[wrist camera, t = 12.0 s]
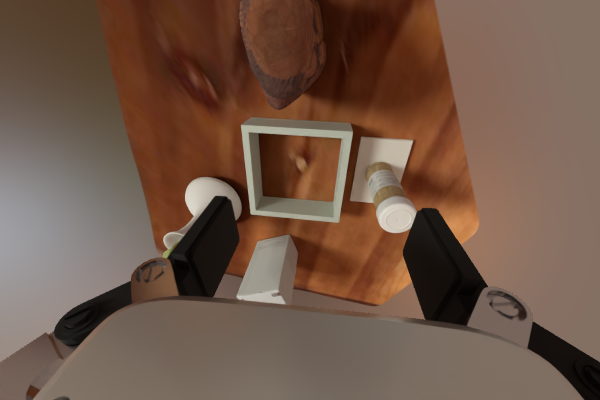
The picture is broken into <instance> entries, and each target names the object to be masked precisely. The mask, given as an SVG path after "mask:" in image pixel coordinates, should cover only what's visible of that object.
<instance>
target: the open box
mask: <svg viewBox="0 0 600 400" xmlns="http://www.w3.org/2000/svg"><path fill="white" fill-rule="evenodd" d="M241 129H242V138H243V147H244V157H245V166H246V175H247V184H248V194H249V203H250V212H251V214H252V215H263V216H273V217H284V218H294V219H305V220H316V221H326V222H337V223H339V218H340V212H341V205H342V199H343V193H344V186H345V180H346V173H347V167H348V161H349V154H350V148H351V141H352V135H353V130H352V127H351V124H350V123H340V122H323V121H306V120H289V119H272V118H255V117H251V118H250V119H248V120H247V121H246V122H244V123H243V124H242V125H241ZM258 133H268V134H284V135H299V136H315V137H331V138H342V141H341V149H340V156H339V164H338V171H337V179H336V187H335V194H334V202H325V201H313V200H302V199H290V198H279V197H267V196H263V193H262V178H261V164H260V149H259V135H258Z"/></svg>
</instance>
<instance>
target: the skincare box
mask: <svg viewBox="0 0 600 400" xmlns="http://www.w3.org/2000/svg"><path fill="white" fill-rule="evenodd" d="M297 257H298V251H297V249H296V247H295V245H294V242H293V240H292V238H291V236H290V234H289V235H284V236H280V237H275V238H270V239H266V240H262V241H258V243H257V245H256V248H255V250H254V253H253V256H252V258H251V261H250V263H249V266H248V268H247V271H246V274H245V276H244V279H243V281H242V284H241V286H240V289H239V292H238V294H237V298H238V299H239V300H246V301H256V302H266V303H276V304H286V305H291V299H292V293H293V285H294V278H295V271H296V265H297Z"/></svg>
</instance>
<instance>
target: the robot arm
mask: <svg viewBox="0 0 600 400" xmlns="http://www.w3.org/2000/svg"><path fill="white" fill-rule="evenodd" d="M238 243H239V233H238V228H237V224H236V219H235V215H234V210H233V206H232V201H231V200H230V199H228V197H227V196H215V197H214V198H213V199H212V200H211V202H210V203H209V204H208V206H207V207H206V208H205V209H204V211H203V212H202V213H201V215H200V216H199V217H198V219H197V220H196V221H195V222H194V223H193V225H192V226H191V227H190V229H189V230H188V231H187V233H186V234H185V235H184V236H183V238H182V239H181V240H180V242H179V243H178V244H177V245H176V247H175V248H174V249H173V251H172V252H171V253H170V255H169V256H168V257H167V258H163V257H158V258H153V259H150V260H148V261H146V262H144V263H142V264H141V265H140V266H138V267H137V268H136V269H135V270H134V272H133V274H132V276H131V281H130V282H127V283H125V284H123V285H121V286H119V287H117V288H114V289H112V290H110V291H108V292H106V293H104V294H101V295H99V296H97V297H95V298H93V299H91V300H89V301H87V302H84V303H82V304H80V305H78V306H76V307H75V308H73V309H72V310H70V311H69V312H68V313H67V314H65V315H64V316H63V317H62V318H61V319H60V321H59V322H58V323H57V325H56V327H55V330H54V332H52V333H51V334H47V333H44V334H43V335H41V336H40V337H38V338H37V339H35V340H34V341H32V342H31V343H29V344H27V345H26V346H24V347H23V348H21V349H20V350H18V351H17V352H15V353H14V354H12V355H11V356H9V357H8V358H6V359H5V360H3V361H2V362H0V400H600V362H599V361H597V360H595V359H594V358H592V357H590V356H589V355H587V354H585V353H584V352H582V351H580V350H579V349H577V348H576V347H574V346H572V345H571V344H569V343H567V342H566V341H564V340H562V339H561V338H559V337H558V336H555V335H554V334H553V333H551V332H549V331H548V330H546V329H544V328H543V327H541V326H539V325H538V324H536V323H535V322H533V314H532V312H531V310H530V309H529V307H528V306H527V305H526V304H525V303H524V302H523V301H522V300H521V299H520V298H519V297H517V296H516V295H514V294H513V293H511V292H509V291H507V290H504V289H502V288H498V287H488V286H487V284H486V283H485V281H484V280H483V278H482V276H481V275H480V273H479V272H478V270H477V269H476V267H475V266H474V264H473V263H472V262H471V260H470V258H469V257H468V255H467V254H466V252H465V251H464V249H463V247H462V246H461V244H460V243H459V241H458V240H457V239H456V237H455V236H454V234H453V233H452V231H451V230H450V228H449V227H448V225H447V224H446V222H445V221H444V219H443V217H442V216H441V214H440V213H439V211H438V210H437V209H435V208H422V209H421V211H417V213H416V216H415V219H414V221H413V224H412V227H411V230H410V232H409V235H408V238H407V240H406V243H405V246H404V249H403V257H404V260H405V262H406V265H407V268H408V271H409V274H410V277H411V280H412V283H413V285H414V288H415V291H416V294H417V297H418V300H419V303H420V306H421V309H422V311H423V314H424V317H425V319H426V320H423V319H415V318H407V317H399V316H389V315H380V314H371V313H362V312H353V311H344V310H333V309H324V308H315V307H305V306H295V305H286V304H276V303H266V302H256V301H246V300H236V299H225V298H213V296H214V295H215V292H216V290H217V288H218V286H219V283H220V282H221V280H222V277H223V275H224V273H225V271H226V269H227V267H228V265H229V262H230V260H231V258H232V256H233V254H234V252H235V250H236V248H237V245H238Z"/></svg>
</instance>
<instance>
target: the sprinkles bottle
mask: <svg viewBox="0 0 600 400" xmlns="http://www.w3.org/2000/svg"><path fill="white" fill-rule="evenodd" d="M365 177H366V180H367V182H368V187H369V190H370V193H371V197H372V200H373V203H374V205H375V208H376V215H377V219H378V222H379V224H380V226H381V227H382V228H383V229H384V230H386V231H388V232H391V233H401V232H404V231H407V230H408V229H410V228H411V227H412V224H413V221H414V219H415V216H416V213H417V211H416V209H415V207H414V205H413V204H412V202H411V201H410V200H409V199H408V198H407V196H406V194H405V192H404V190H403V188H402V186H401V184H400V182H399V181H398V179H397V177H396V176H395V174H394V173H393V170H392V168H391V166H390V165H389V164H387V163H385V162H375V163H373V164H372V165H370V166H369V167H368V168H367V170H366V173H365Z"/></svg>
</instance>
